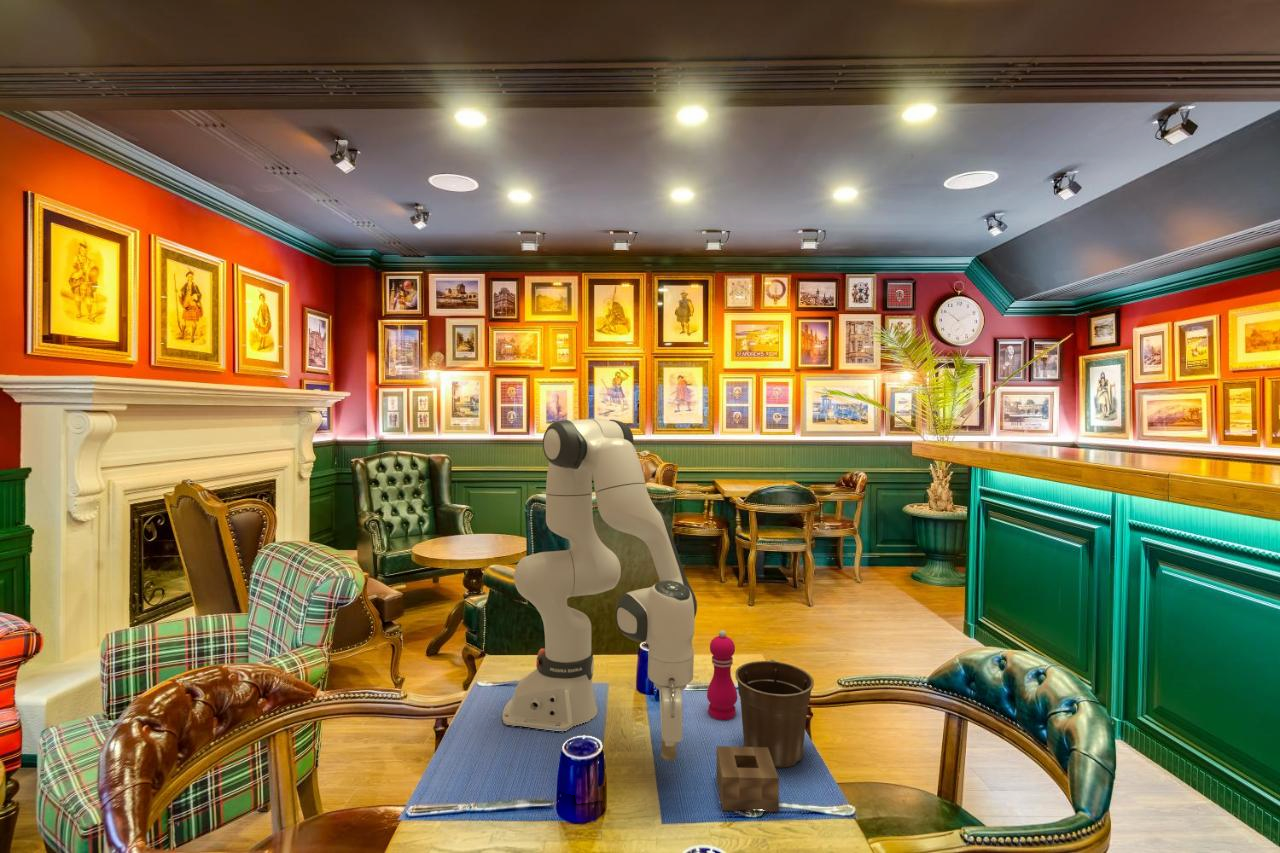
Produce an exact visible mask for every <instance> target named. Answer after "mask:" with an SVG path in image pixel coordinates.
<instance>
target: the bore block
mask: <svg viewBox="0 0 1280 853" xmlns="http://www.w3.org/2000/svg"><path fill="white" fill-rule="evenodd" d="M779 780H780V778H779V775H778V772H777V769H776V767H775V766H774V763H773V760H772V758H771V755H770V752H769V749H768V747H744V746H723V745H722V746H720V745H719V746H718V745H717V746H716V781H717V787H718V788H717V789H718V792H719V793H718V794H719V799H720V803H721V805H720V806H721V810H722V811H727V812H729V811H730V812H731V811H732V812H739V811H738V810H742V811H741V812H747V811H746V810H753V809H763V810H766V812H767V813H768V811H769V812H770V813H772V812H774V813H775V812H776V813H778V812H779V810H780V808H779V806H780V805H779V803H780V802H779V800H780V799H779V798H780V796H779V792H780V781H779ZM743 810H745V811H743Z"/></svg>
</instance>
